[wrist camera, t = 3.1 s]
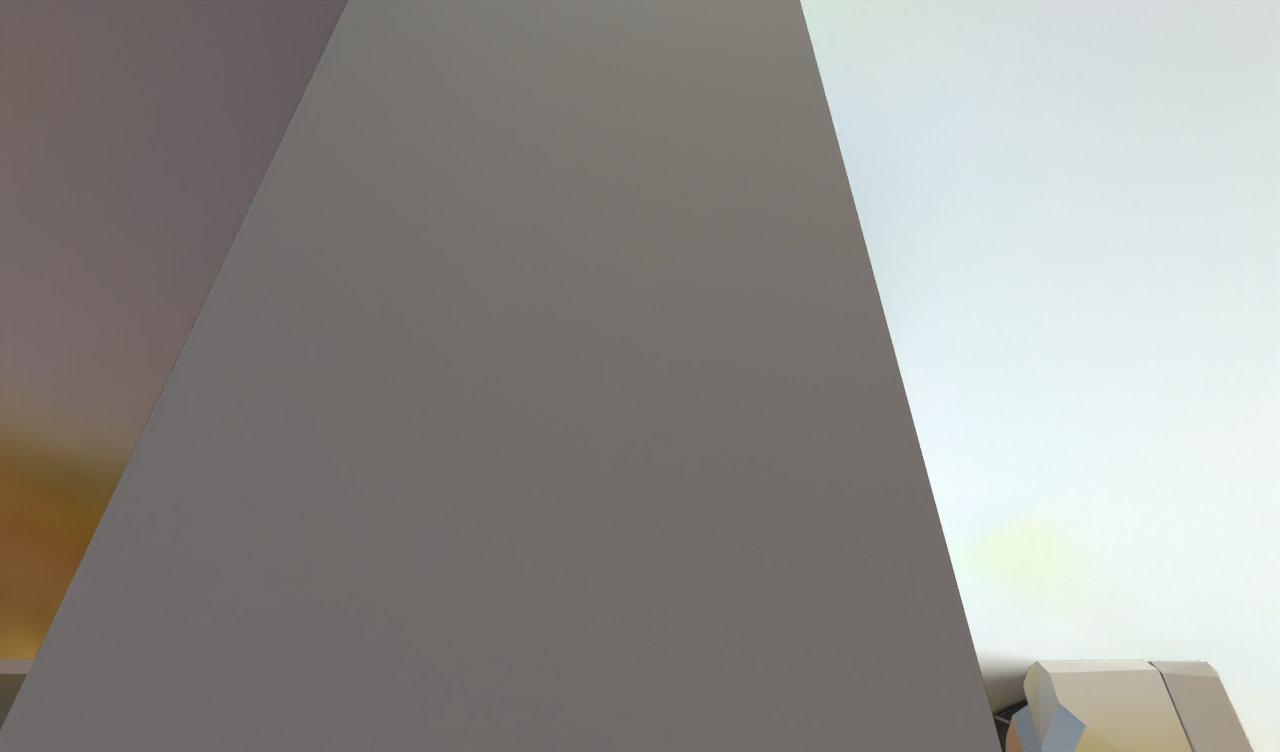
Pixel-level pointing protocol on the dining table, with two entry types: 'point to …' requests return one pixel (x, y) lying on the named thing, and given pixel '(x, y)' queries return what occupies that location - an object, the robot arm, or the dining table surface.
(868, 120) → the dining table surface
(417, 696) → the door panel
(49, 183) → the dining table surface
